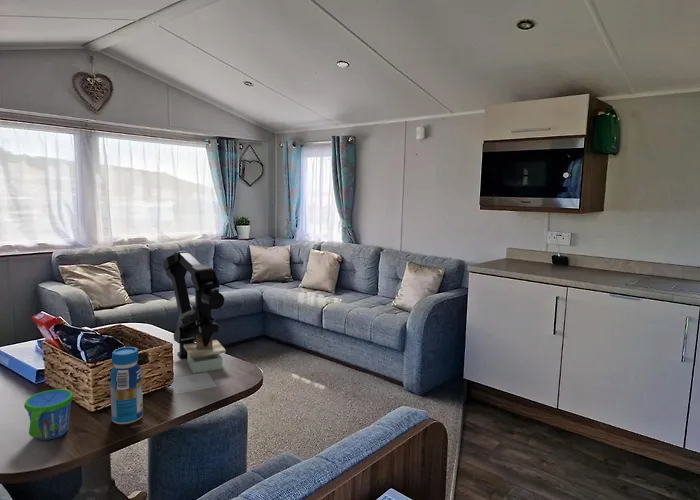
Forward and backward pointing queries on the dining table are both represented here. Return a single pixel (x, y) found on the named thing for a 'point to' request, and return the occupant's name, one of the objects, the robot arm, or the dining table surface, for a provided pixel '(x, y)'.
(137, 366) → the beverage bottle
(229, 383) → the dining table surface
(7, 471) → the dining table surface
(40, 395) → the snack cup
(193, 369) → the dish
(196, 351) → the lid
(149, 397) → the dining table surface
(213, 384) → the mat
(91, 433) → the dining table surface
